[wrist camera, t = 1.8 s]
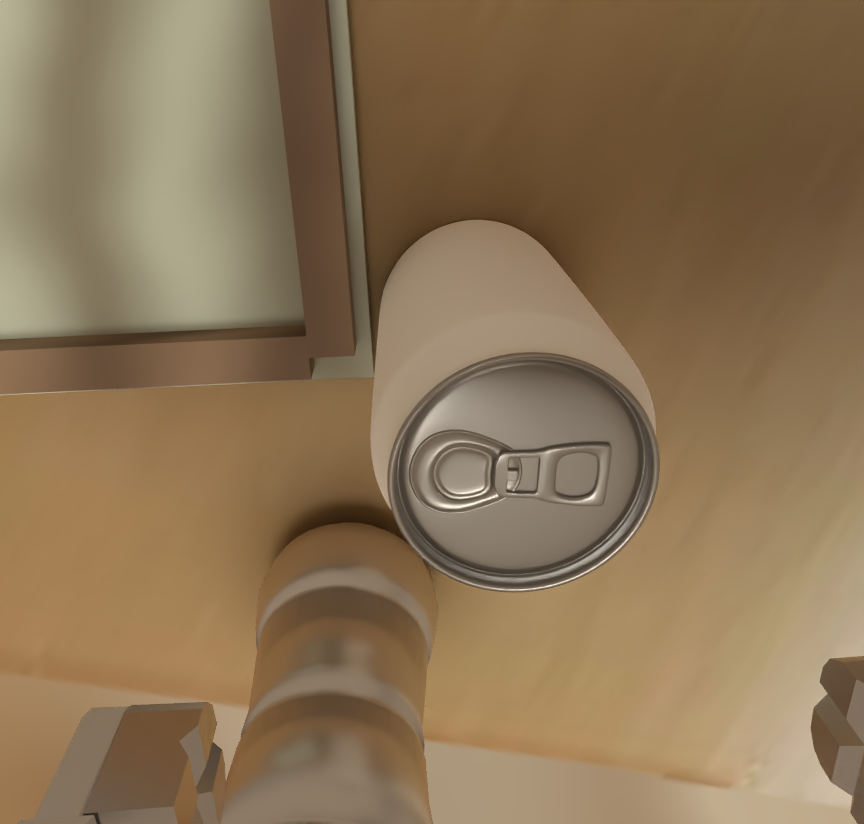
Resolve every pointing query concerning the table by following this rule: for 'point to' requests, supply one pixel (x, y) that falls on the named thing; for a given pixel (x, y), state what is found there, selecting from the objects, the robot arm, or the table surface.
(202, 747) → the robot arm
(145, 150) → the wooden picture frame
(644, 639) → the table surface
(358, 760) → the plastic bottle
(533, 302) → the can
